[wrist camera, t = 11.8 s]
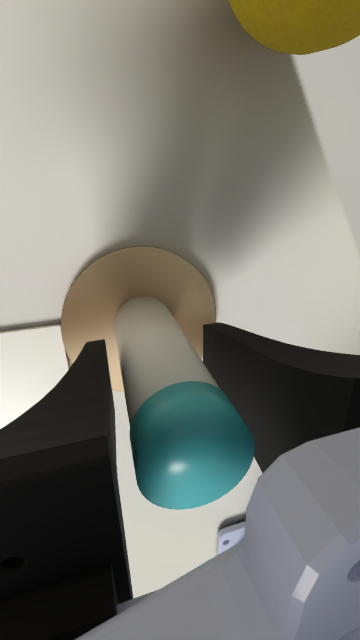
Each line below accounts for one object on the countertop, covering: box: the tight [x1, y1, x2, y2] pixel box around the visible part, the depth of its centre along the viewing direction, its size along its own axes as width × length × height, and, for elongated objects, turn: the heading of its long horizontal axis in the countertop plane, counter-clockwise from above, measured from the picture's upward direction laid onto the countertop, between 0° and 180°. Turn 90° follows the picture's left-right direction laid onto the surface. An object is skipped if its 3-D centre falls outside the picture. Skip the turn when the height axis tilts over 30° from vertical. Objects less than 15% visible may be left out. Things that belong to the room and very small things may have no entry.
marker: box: [114, 296, 255, 509], centre depth 10 cm, size 3×3×8 cm
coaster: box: [61, 247, 216, 392], centre depth 14 cm, size 7×7×1 cm
